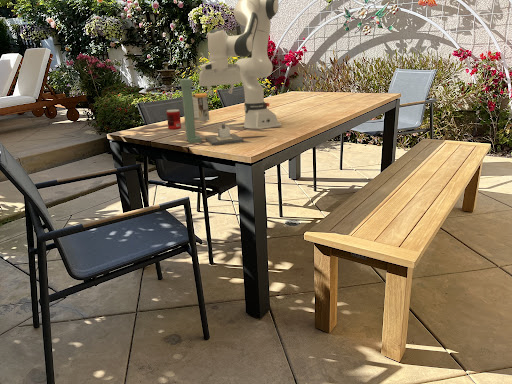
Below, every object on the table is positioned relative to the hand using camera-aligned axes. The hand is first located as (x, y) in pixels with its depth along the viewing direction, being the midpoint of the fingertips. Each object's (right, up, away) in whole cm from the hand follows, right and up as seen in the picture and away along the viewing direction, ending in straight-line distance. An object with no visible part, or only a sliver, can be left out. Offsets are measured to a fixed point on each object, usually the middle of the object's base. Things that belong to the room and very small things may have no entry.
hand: (221, 94), depth 200 cm
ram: (-11, -10, +8) cm, 17 cm away
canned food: (-32, -10, +47) cm, 58 cm away
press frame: (-15, -22, +11) cm, 28 cm away
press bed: (+1, -22, +8) cm, 23 cm away
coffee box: (-19, 0, +73) cm, 76 cm away
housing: (+1, -20, +7) cm, 22 cm away
